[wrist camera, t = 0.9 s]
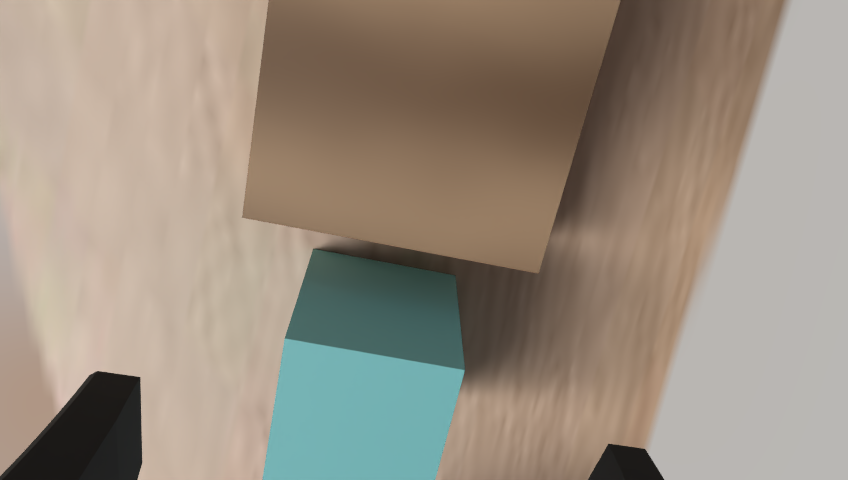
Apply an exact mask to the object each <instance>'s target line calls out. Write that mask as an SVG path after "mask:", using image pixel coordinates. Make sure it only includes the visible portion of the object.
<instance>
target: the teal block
mask: <svg viewBox="0 0 848 480" xmlns="http://www.w3.org/2000/svg"><path fill="white" fill-rule="evenodd" d="M464 372H465V365H464V355H463V346H462V336H461V326H460V316H459V306H458V297H457V287H456V277H455V275H450V274H445V273H440V272H434V271H429V270H424V269H418V268H413V267H408V266H402V265H397V264H392V263H386V262H381V261H376V260H370V259H365V258H360V257H355V256H349V255H344V254H339V253H333V252H328V251H323V250H317V249H313V252H312V255H311V258H310V261H309V264H308V268H307V271H306V274H305V277H304V280H303V283H302V286H301V289H300V293H299V296H298V299H297V302H296V305H295V308H294V311H293V314H292V318H291V321H290V324H289V327H288V330H287V333H286V336H285V340H284V347H283V353H282V360H281V366H280V372H279V379H278V385H277V391H276V398H275V404H274V410H273V417H272V423H271V429H270V436H269V442H268V448H267V455H266V461H265V467H264V474H263V480H435V478H436V475H437V471H438V467H439V464H440V460H441V456H442V453H443V449H444V445H445V442H446V438H447V434H448V431H449V427H450V423H451V420H452V416H453V412H454V409H455V405H456V401H457V398H458V394H459V390H460V387H461V383H462V379H463V376H464Z"/></svg>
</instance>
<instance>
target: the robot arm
mask: <svg viewBox="0 0 848 480" xmlns="http://www.w3.org/2000/svg"><path fill="white" fill-rule="evenodd" d="M141 465H142V436H141V391H140V377H135V376H128V375H121V374H114V373H107V372H100V371H97V372H95V373H93V374H91V375H89V377H88V378H87V379H86V380H85V382H84V383H83V384H82V385H81V387H80V388H79V389H78V390H77V392H76V393H75V394H74V395H73V396H72V398H71V399H70V400H69V401H68V402H67V404H66V405H65V406H64V407H63V408H62V409H61V411H60V412H59V413H58V414H57V415H56V416H55V418H54V419H53V420H52V421H51V422H50V423H49V424H48V426H47V427H46V428H45V429H44V430H43V431H42V432H41V433H40V434H39V436H38V437H37V438H36V439H35V440H34V441H33V442H32V443H31V444H30V446H29V447H28V448H27V449H26V450H25V451H24V452H23V453H22V454H21V455H20V456H19V458H17V459H16V461H15V462H14V463H13V464H12V465H11V466H10V467H9V468H8V469H7V470H6V471H5V472H4V473H3V474H2V475H1V476H0V480H137V479H138V475H139V472H140V468H141ZM588 480H664V479H663V477H662V475H661V474H660V472H659V471H658V469H657V467H656V466H655V464H654V463H653V461H652V459H651V458H650V456H649V455H648V453H647V451H646V450H645V449H641V448H634V447H627V446H620V445H613V444H608V446H607V447H606V449H605V451H604V453H603V454H602V456H601V458H600V460H599V461H598V463H597V465H596V467H595V468H594V470H593V472H592V474H591V475H590V477H589V479H588Z"/></svg>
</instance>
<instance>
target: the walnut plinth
mask: <svg viewBox="0 0 848 480" xmlns="http://www.w3.org/2000/svg"><path fill="white" fill-rule="evenodd" d="M620 1H621V0H269V3H268V11H267V19H266V27H265V35H264V44H263V52H262V60H261V68H260V76H259V85H258V93H257V101H256V109H255V117H254V126H253V134H252V142H251V150H250V158H249V167H248V175H247V183H246V191H245V199H244V208H243V216H242V218H248V219H253V220H258V221H263V222H269V223H274V224H279V225H284V226H290V227H295V228H300V229H306V230H311V231H316V232H321V233H327V234H332V235H337V236H343V237H348V238H353V239H358V240H364V241H369V242H374V243H379V244H385V245H390V246H395V247H401V248H406V249H411V250H416V251H422V252H427V253H432V254H437V255H443V256H448V257H453V258H459V259H464V260H469V261H474V262H480V263H485V264H490V265H495V266H501V267H506V268H511V269H517V270H522V271H527V272H532V273H538V274H539V270H540V267H541V264H542V260H543V257H544V254H545V250H546V247H547V244H548V240H549V237H550V234H551V230H552V227H553V224H554V220H555V217H556V214H557V210H558V207H559V204H560V200H561V197H562V194H563V190H564V187H565V184H566V180H567V177H568V174H569V170H570V167H571V164H572V161H573V157H574V154H575V151H576V147H577V144H578V141H579V137H580V134H581V131H582V127H583V124H584V121H585V117H586V114H587V111H588V107H589V104H590V101H591V97H592V94H593V91H594V87H595V84H596V81H597V77H598V74H599V71H600V67H601V64H602V61H603V57H604V54H605V51H606V47H607V44H608V41H609V38H610V34H611V31H612V28H613V24H614V21H615V18H616V14H617V11H618V8H619V4H620Z"/></svg>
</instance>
